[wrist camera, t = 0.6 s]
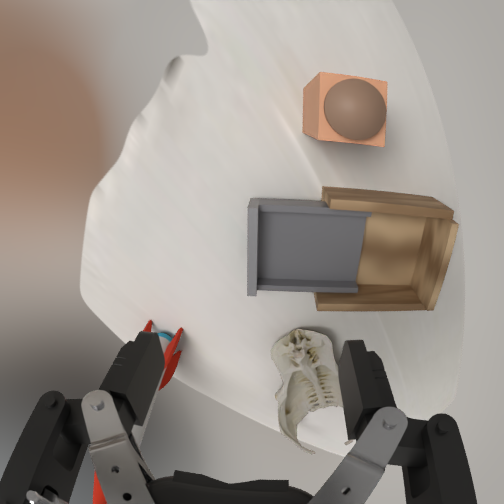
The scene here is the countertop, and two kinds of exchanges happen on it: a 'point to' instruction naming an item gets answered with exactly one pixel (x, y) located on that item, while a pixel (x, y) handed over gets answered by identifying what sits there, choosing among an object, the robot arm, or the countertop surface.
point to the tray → (303, 246)
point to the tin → (345, 109)
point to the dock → (394, 251)
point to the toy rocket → (169, 369)
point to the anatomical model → (304, 379)
